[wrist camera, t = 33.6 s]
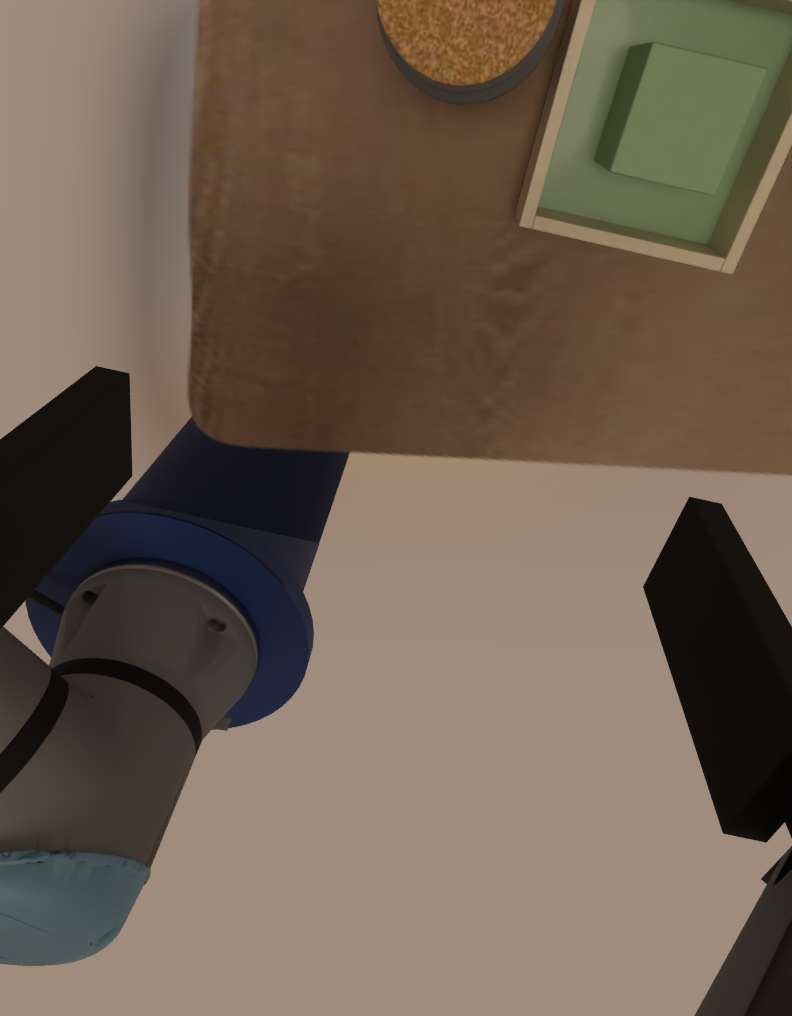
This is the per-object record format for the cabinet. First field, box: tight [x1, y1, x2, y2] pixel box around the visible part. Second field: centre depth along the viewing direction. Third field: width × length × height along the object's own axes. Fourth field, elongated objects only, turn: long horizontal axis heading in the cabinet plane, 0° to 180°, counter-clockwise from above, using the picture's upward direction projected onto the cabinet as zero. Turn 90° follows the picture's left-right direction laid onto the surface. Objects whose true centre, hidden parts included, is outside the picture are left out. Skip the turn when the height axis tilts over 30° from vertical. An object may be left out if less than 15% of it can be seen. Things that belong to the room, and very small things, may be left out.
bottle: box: [376, 0, 564, 104], centre depth 23 cm, size 6×6×15 cm
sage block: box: [594, 42, 768, 196], centre depth 28 cm, size 4×4×4 cm
